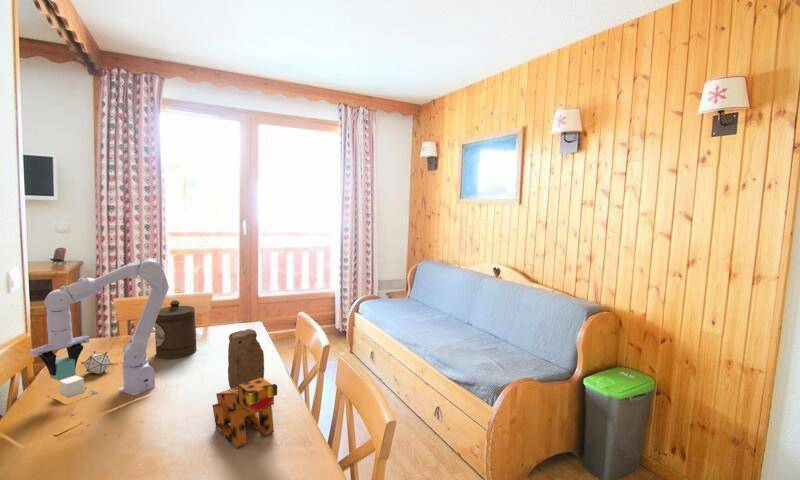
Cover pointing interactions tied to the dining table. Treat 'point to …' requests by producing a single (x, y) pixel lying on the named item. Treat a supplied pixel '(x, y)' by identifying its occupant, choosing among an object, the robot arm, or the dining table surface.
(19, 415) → the dining table surface
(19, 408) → the dining table surface
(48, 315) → the robot arm
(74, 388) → the cream brick
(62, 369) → the teal brick
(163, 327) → the wooden container
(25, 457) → the dining table surface
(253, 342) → the block
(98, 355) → the game die
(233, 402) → the toy animal
